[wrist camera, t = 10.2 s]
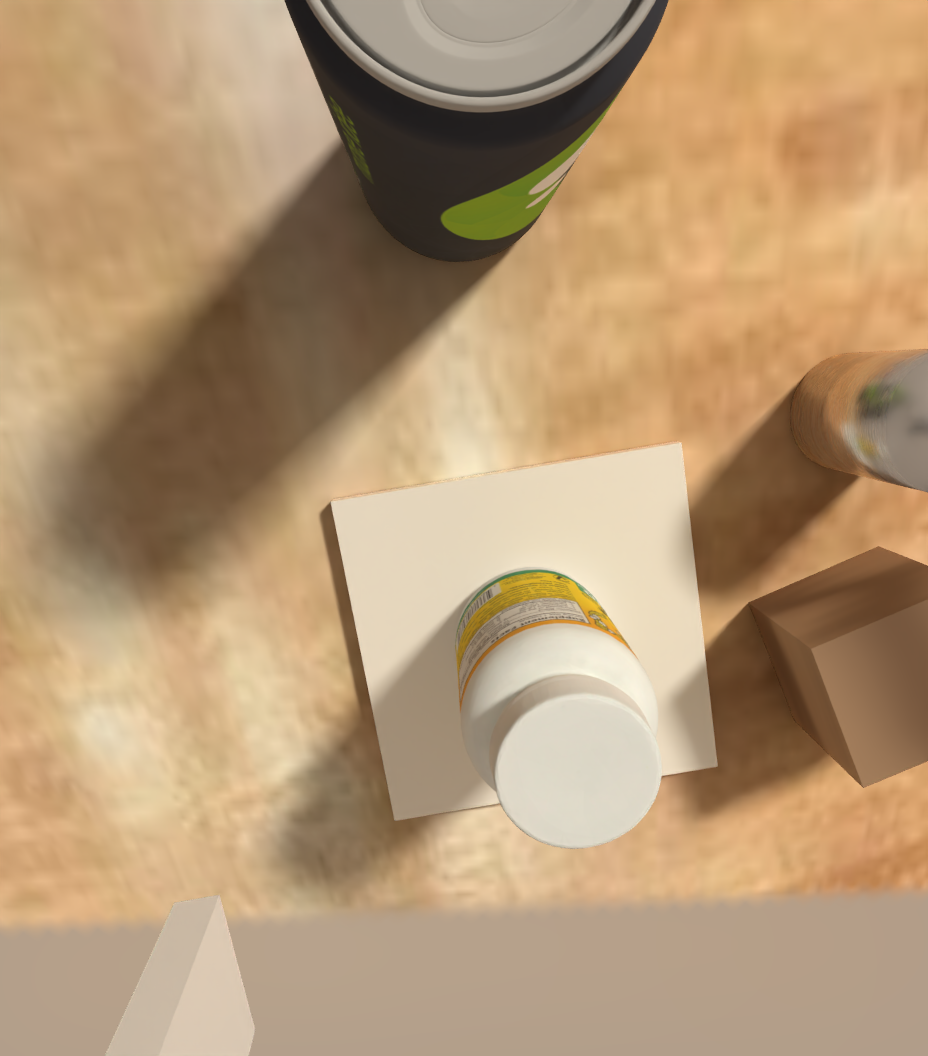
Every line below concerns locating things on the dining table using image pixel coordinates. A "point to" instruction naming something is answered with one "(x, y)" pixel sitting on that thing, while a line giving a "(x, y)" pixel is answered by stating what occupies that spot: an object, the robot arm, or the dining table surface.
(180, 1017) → the robot arm
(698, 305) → the dining table surface
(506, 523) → the coaster
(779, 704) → the dining table surface
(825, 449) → the cylinder
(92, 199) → the dining table surface
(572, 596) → the supplement bottle
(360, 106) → the beverage can
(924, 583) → the walnut block
